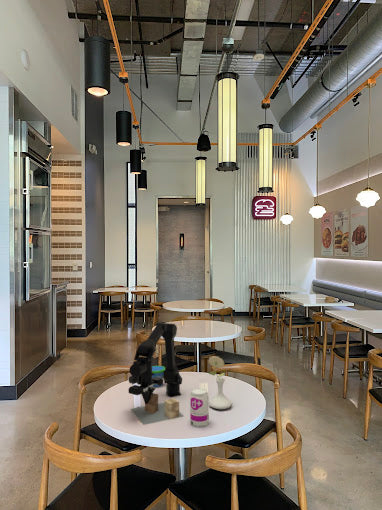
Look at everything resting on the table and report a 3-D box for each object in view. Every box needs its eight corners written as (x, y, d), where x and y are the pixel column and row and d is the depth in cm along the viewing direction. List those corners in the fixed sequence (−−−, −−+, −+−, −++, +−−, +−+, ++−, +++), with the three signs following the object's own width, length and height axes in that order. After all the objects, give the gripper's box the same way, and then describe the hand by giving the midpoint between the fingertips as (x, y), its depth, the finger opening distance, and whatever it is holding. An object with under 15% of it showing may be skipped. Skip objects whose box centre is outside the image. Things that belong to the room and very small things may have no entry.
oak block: (173, 412, 183) (173, 398, 183) (179, 416, 179) (179, 401, 179) (164, 415, 180) (164, 400, 180) (170, 419, 176) (170, 403, 176)
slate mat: (168, 402, 197) (168, 401, 197) (184, 417, 179) (184, 416, 179) (130, 410, 188) (130, 408, 188) (143, 426, 170) (143, 424, 170)
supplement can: (203, 430, 165) (202, 395, 166) (186, 426, 170) (186, 392, 170) (212, 423, 172) (211, 390, 172) (196, 419, 177) (196, 386, 177)
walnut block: (150, 409, 188) (150, 392, 188) (158, 411, 185) (158, 394, 185) (144, 411, 184) (145, 394, 185) (152, 413, 182) (153, 396, 182)
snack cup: (140, 386, 222) (140, 369, 222) (148, 381, 232) (148, 364, 232) (164, 390, 216) (164, 372, 216) (172, 384, 226) (172, 366, 226)
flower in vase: (236, 406, 191) (235, 356, 191) (222, 413, 183) (222, 361, 183) (216, 400, 200) (215, 352, 200) (201, 406, 192) (201, 356, 192)
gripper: (146, 363, 194) (146, 394, 194) (119, 373, 179) (120, 406, 179) (163, 367, 188) (163, 399, 188) (137, 377, 172) (137, 411, 172)
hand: (146, 403), depth 182 cm, fingers closed
